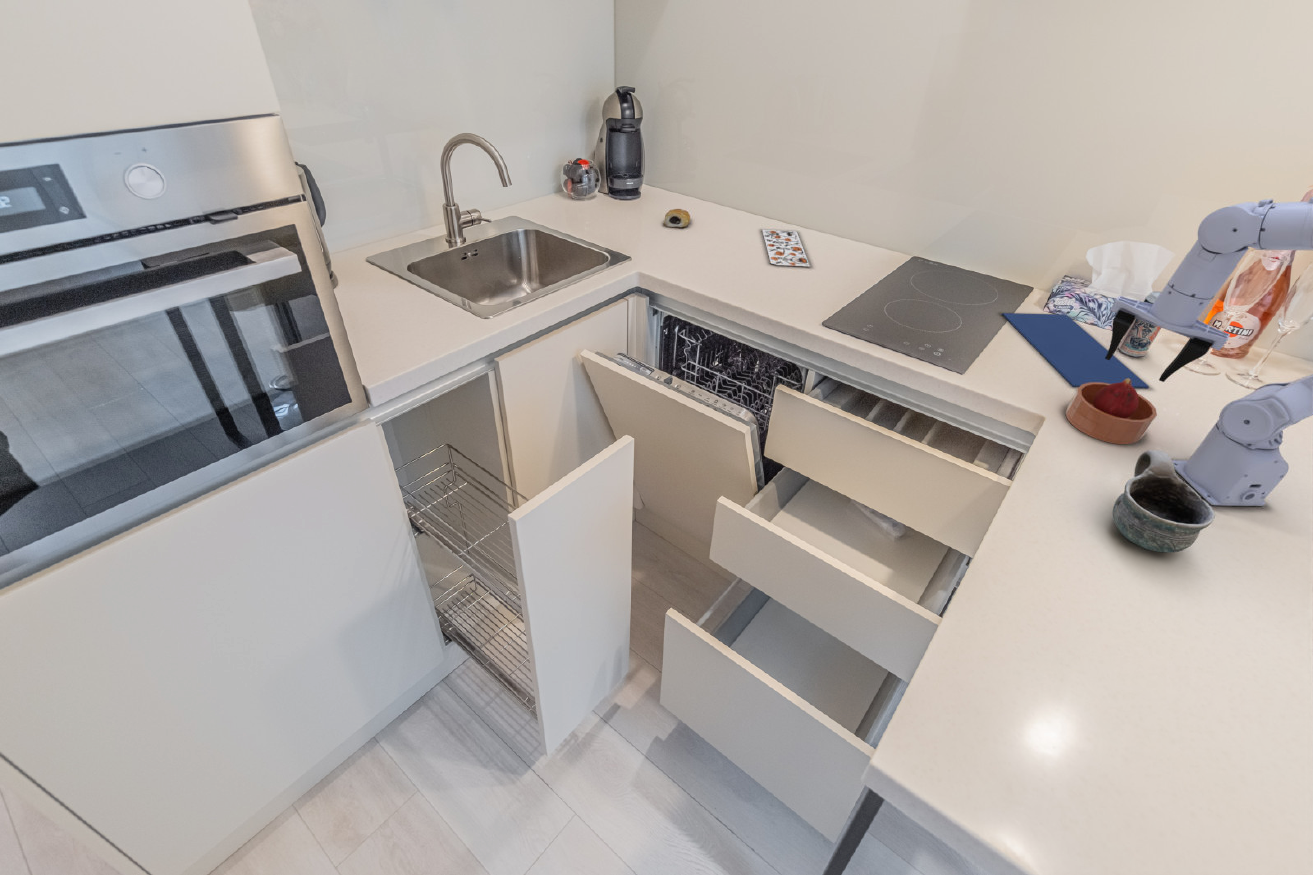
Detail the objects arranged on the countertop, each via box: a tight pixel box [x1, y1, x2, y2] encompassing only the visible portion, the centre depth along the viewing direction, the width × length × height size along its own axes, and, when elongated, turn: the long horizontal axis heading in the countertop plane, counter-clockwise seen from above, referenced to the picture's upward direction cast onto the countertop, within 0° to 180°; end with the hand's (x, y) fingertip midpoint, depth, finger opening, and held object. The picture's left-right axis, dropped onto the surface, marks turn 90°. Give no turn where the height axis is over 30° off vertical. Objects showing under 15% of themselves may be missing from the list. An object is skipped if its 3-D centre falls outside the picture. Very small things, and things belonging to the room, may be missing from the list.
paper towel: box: [761, 229, 811, 268], centre depth 160 cm, size 24×1×9 cm
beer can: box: [1118, 290, 1162, 358], centre depth 119 cm, size 5×5×12 cm
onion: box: [1094, 378, 1139, 419], centre depth 100 cm, size 6×6×8 cm
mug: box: [1111, 449, 1216, 553], centre depth 81 cm, size 10×12×10 cm
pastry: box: [663, 208, 691, 228], centre depth 171 cm, size 9×7×4 cm
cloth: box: [1002, 312, 1150, 389], centre depth 123 cm, size 28×14×1 cm, turn 1°
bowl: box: [1065, 382, 1158, 445], centre depth 102 cm, size 11×11×4 cm
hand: (1134, 367), depth 97 cm, fingers open, 7 cm apart
